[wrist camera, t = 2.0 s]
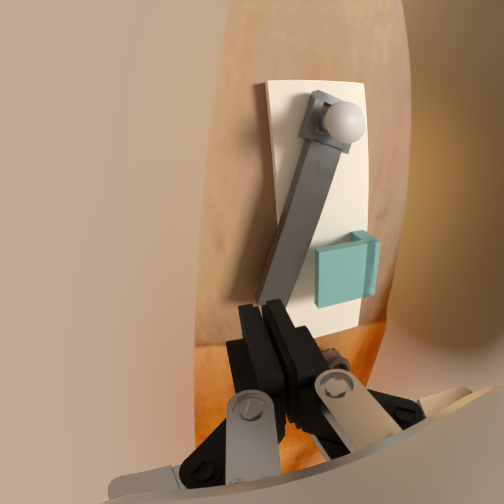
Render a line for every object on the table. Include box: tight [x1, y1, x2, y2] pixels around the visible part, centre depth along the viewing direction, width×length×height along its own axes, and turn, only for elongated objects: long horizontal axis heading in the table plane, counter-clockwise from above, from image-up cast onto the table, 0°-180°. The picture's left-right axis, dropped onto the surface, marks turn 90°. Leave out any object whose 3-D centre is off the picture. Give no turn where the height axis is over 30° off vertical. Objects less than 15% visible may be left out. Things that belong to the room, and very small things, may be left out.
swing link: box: [254, 90, 362, 308], centre depth 25 cm, size 20×4×2 cm, turn 164°
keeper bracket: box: [314, 230, 380, 309], centre depth 28 cm, size 6×6×3 cm
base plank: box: [265, 80, 368, 338], centre depth 26 cm, size 28×10×5 cm, turn 7°
